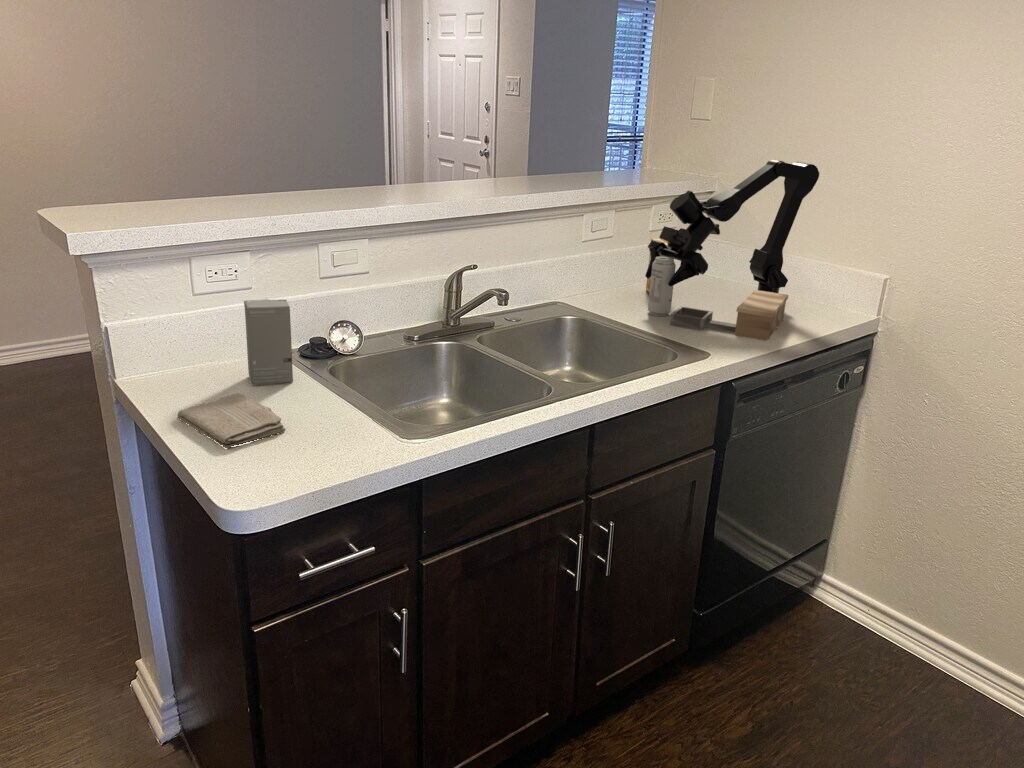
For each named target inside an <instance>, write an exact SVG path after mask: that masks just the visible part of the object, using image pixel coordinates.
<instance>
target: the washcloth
mask: <svg viewBox="0 0 1024 768" xmlns="http://www.w3.org/2000/svg"><path fill="white" fill-rule="evenodd" d="M176 418H177V419H181V420H182V421H181V422H183V421H184V422H185V423H184V422H183V423H184V424H186V423H187V424H189V425H190V426H191V427H190V426H189V427H190V428H192V427H193V428H194V429H193V428H192V429H193V430H195V429H196V430H198V431H197V432H200V433H199V434H201V433H202V434H201V435H203V434H205V435H206V436H208V437H210V438H211V439H213V440H215V441H216V442H218V443H219V444H220V445H223V447H225V448H229V449H231V448H230V447H231V446H234V445H239V444H243V443H246V442H250V441H254V440H257V439H261V440H263V439H262V438H265V437H268V438H270V437H269V436H271V435H274V436H276V435H275V434H277V433H280V434H282V433H284V432H286V428H285V427H284V424H282V423H281V421H282V417H280V416H279V415H277V414H276V413H275V412H274V411H273V410H272V408H271V407H269V406H265V405H263V404H261V403H259V402H258V401H257V400H254V399H252V398H250V397H247V396H245V395H244V394H243V393H232V394H230V395H226V396H222V397H220V398H218V399H215V400H213V401H209V402H208V403H201V404H196V405H193V406H189V407H187V408H184V409H180V410H179V411H178V413H177V417H176ZM187 424H186V425H187ZM196 430H195V431H196ZM281 432H282V433H281ZM277 435H278V434H277ZM206 436H205V437H206ZM208 437H207V438H208ZM271 437H272V436H271ZM211 439H210V440H211ZM265 439H266V438H265ZM213 440H212V441H213Z"/></svg>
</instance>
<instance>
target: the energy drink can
mask: <svg viewBox="0 0 1024 768" xmlns="http://www.w3.org/2000/svg"><path fill="white" fill-rule="evenodd" d="M676 268H677V267H676V263H675V259H674V258H672V257H666V256H658V257H655V261H654V262H653V264H652V272H651V282H650V292H648V293H649V294H648V302H647V303H648V304H647V311H648V312H649V314H650V315H651V316H654V317H666V316H667V317H668V315H669V314H671V313H672V312H671V311H672V301H673V294H674V286H675V285H673V286H669V285H668V283H669V281H670V279H671V278H672V277H673V275H674V274H675V273H676Z"/></svg>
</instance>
